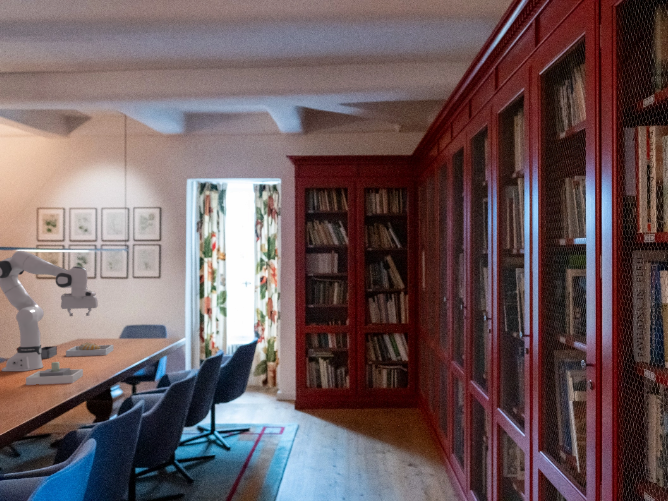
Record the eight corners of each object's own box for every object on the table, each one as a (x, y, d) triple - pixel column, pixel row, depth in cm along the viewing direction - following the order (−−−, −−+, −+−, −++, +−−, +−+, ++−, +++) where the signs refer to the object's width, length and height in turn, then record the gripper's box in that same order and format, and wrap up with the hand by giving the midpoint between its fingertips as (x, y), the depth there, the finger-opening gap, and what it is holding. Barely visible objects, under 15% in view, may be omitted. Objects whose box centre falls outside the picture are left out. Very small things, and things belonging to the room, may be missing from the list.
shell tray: (65, 356, 374) (65, 350, 374) (75, 351, 394) (75, 346, 395) (106, 355, 378) (106, 349, 378) (113, 350, 399) (113, 344, 399)
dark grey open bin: (36, 358, 365) (36, 350, 366) (44, 354, 381) (44, 346, 381) (48, 358, 367) (48, 349, 367) (56, 354, 383) (56, 346, 383)
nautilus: (81, 351, 394) (103, 351, 398) (75, 354, 374) (98, 354, 378) (82, 340, 395) (103, 340, 399) (76, 343, 374) (99, 343, 378)
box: (25, 385, 288) (25, 374, 288) (38, 377, 305) (38, 368, 306) (72, 382, 292) (72, 372, 292) (82, 375, 309) (82, 366, 310)
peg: (50, 379, 296) (50, 363, 297) (53, 377, 300) (53, 362, 301) (57, 379, 297) (57, 362, 297) (60, 377, 301) (60, 361, 301)
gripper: (59, 293, 315) (59, 317, 315) (95, 293, 319) (95, 316, 319) (62, 293, 322) (62, 315, 321) (98, 292, 325) (98, 315, 325)
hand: (79, 316), depth 320 cm, fingers open, 8 cm apart
